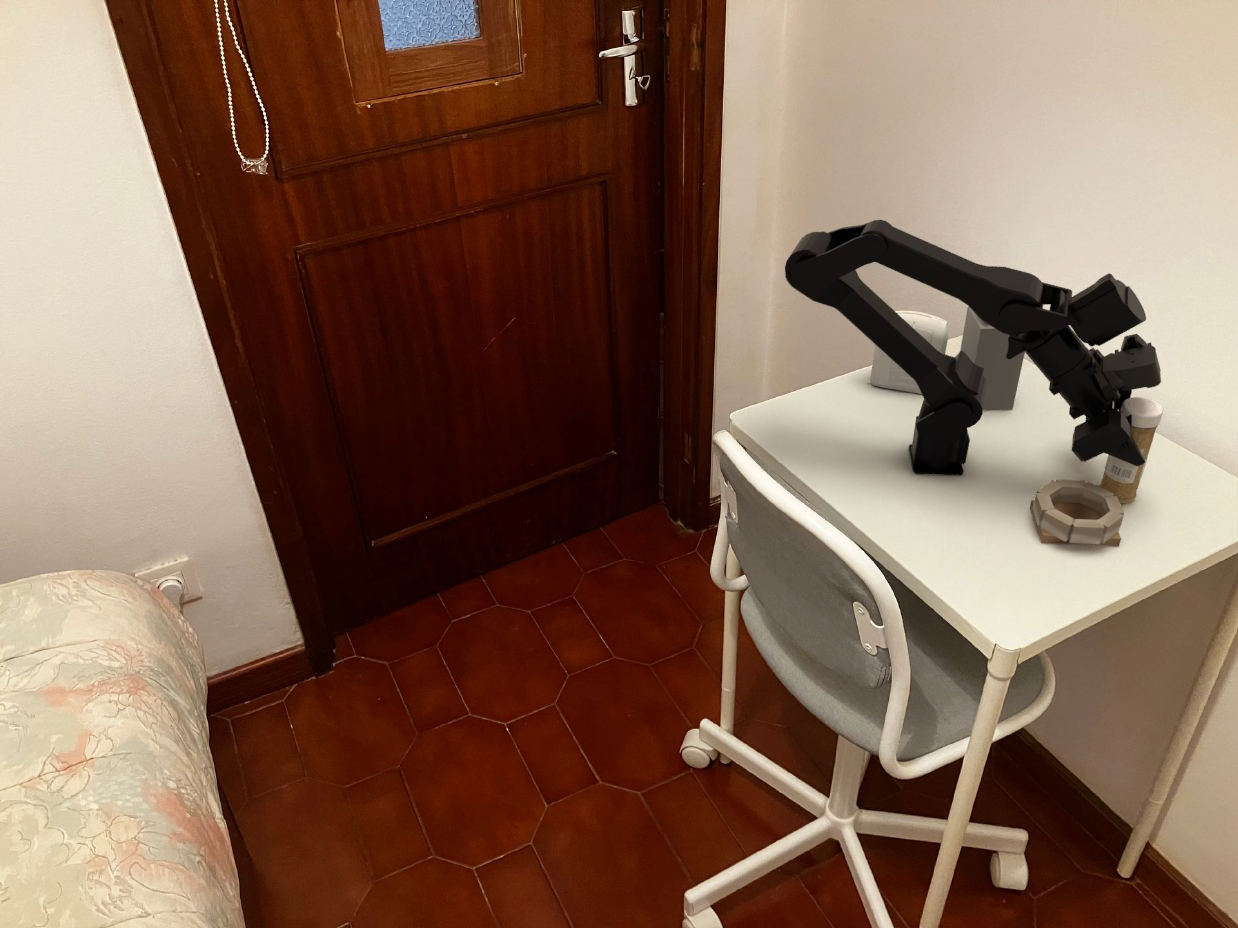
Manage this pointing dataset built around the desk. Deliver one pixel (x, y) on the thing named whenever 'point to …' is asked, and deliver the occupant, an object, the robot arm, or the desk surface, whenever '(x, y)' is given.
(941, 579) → the desk surface
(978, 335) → the perfume bottle
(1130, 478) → the sprinkles bottle
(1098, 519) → the octagonal open basket
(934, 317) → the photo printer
